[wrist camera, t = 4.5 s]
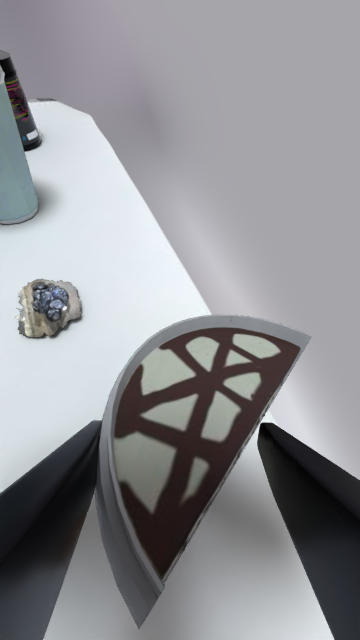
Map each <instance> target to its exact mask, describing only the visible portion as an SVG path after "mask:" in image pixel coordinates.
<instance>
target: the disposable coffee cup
mask: <svg viewBox="0 0 360 640" xmlns="http://www.w3.org/2000/svg"><path fill="white" fill-rule="evenodd" d="M4 75H5V73H4V72H3V70H2V68H1V66H0V223H2V224H14V223H21V222H23V221H25V220H28V219H30V218H32V217H33V216H34V215H35V213H36V212H37V211H38V199H37V195H36V191H35V188H34V184H33V181H32V177H31V174H30V170H29V167H28V163H27V160H26V156H25V152H24V149H23V145H22V142H21V138H20V135H19V131H18V128H17V124H16V121H15V117H14V114H13V110H12V107H11V103H10V100H9V96H8V93H7V89H6V85H5V82H4Z"/></svg>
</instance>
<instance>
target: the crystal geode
mask: <svg viewBox="0 0 360 640" xmlns="http://www.w3.org/2000/svg"><path fill="white" fill-rule="evenodd" d="M76 291H77V290H76V288H75V287H74V286H72V284H71V283H70V282H63V281H61V280H60V281H57V282H55V281H53V280H51V281H49V280H44V279H36V280H35V281H33V282H31V283H29V282H28V284H27V286H24V287H23V288H22V290H21V291H20V292H19V293H18V294H19V295H21V296H19V297H20V301H19V303H20V304H22V305H23V307H24V308H22V309H19V308H16V309H19V310H21V312H22V313H20V315H21V316H16V317H15V318H16V319H20V321H19V327H18V330H20V331H19V334H23V335H25V336H30V337H39V336H40V337H41V336H42V335H43V333H46V335H47V336H49V335H51V336H52V335H53V334H54V333H56V330H58V328H59V327H62V328H64V327H63V326H66V325H67V324H66V322H68V320H70V319H76V318H78V317H79V318H80V315H79V314H82V312H80V311H79V309H80V308H81V301H80V300H79V299H80V298H79V297H77V294H78V293H77V292H76Z"/></svg>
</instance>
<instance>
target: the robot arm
mask: <svg viewBox="0 0 360 640" xmlns="http://www.w3.org/2000/svg"><path fill="white" fill-rule="evenodd" d="M101 429H102V421H96V420H95V421H92V422H90V423H89V424H88V425H87V426H85V427H84V428H83V429H81V430H80V431H79V432H78V433H76V434H75V435H74V436H73V437H71V438H70V439H69V440H67V441H66V442H65V443H64V444H62V445H61V446H60V447H59V448H57V449H56V450H55V451H54V452H52V453H51V454H50V455H48V456H47V457H46V458H45V459H43V460H42V461H41V462H40V463H38V464H37V465H36V466H34V467H33V468H32V469H31V470H29V471H28V472H27V473H26V474H24V475H23V476H22V477H21V478H19V479H18V480H17V481H15V482H14V483H13V484H12V485H10V486H9V487H8V488H7V489H5V490H4V491H3V492H1V493H0V640H43V638H44V635H45V632H46V629H47V627H48V624H49V621H50V618H51V615H52V612H53V609H54V607H55V604H56V601H57V598H58V595H59V592H60V589H61V587H62V584H63V581H64V578H65V575H66V572H67V570H68V567H69V564H70V561H71V558H72V555H73V552H74V550H75V547H76V544H77V541H78V538H79V535H80V532H81V530H82V527H83V524H84V521H85V518H86V515H87V512H88V510H89V507H90V504H91V501H92V498H93V494H94V490H95V486H96V479H97V463H98V449H99V442H100V435H101ZM257 446H258V450H259V453H260V456H261V459H262V463H263V466H264V469H265V472H266V475H267V478H268V481H269V484H270V487H271V490H272V493H273V496H274V498H275V501H276V503H277V506H278V508H279V510H280V513H281V515H282V517H283V520H284V522H285V524H286V527H287V529H288V531H289V534H290V536H291V538H292V541H293V543H294V545H295V548H296V550H297V553H298V555H299V557H300V560H301V562H302V564H303V567H304V569H305V571H306V574H307V576H308V578H309V581H310V583H311V585H312V588H313V590H314V593H315V595H316V597H317V600H318V602H319V604H320V607H321V609H322V611H323V614H324V616H325V618H326V621H327V623H328V625H329V628H330V630H331V632H332V635H333V637H334V640H360V480H358V479H357V478H355V477H354V476H352V475H350V474H349V473H348V472H346V471H345V470H343V469H342V468H340V467H339V466H337V465H335V464H334V463H333V462H331V461H330V460H328V459H326V458H325V457H323V456H322V455H320V454H319V453H317V452H316V451H314V450H313V449H311V448H310V447H308V446H307V445H305V444H304V443H302V442H301V441H299V440H297V439H296V438H295V437H293V436H292V435H290V434H289V433H287V432H286V431H284V430H282V429H281V428H279V427H278V426H276V425H275V424H273V423H261V424H260V428H259V434H258V440H257Z"/></svg>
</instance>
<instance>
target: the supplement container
mask: <svg viewBox="0 0 360 640" xmlns="http://www.w3.org/2000/svg"><path fill="white" fill-rule="evenodd" d="M0 66H1V68H2V70H3V72H4V73H5V75H4V82H5V85H6V89H7V93H8V96H9V100H10V103H11V107H12V110H13V114H14V117H15V121H16V124H17V128H18V131H19V135H20V138H21V142H22V145H23V149H24V150H29V149H32V148H35V147H37V146H38V145H39V144H40V135H39V132H38V129H37V127H36V124H35V121H34V119H33V116H32V113H31V110H30V108H29V105H28V102H27V100H26V97H25V94H24V92H23V89H22V86H21V83H20V81H19V78H18V76H17V73H16V69H15V67H14V64H13V61H12V58H11V56H10V54H9V53H7V52H5V51H2V50H0Z"/></svg>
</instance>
